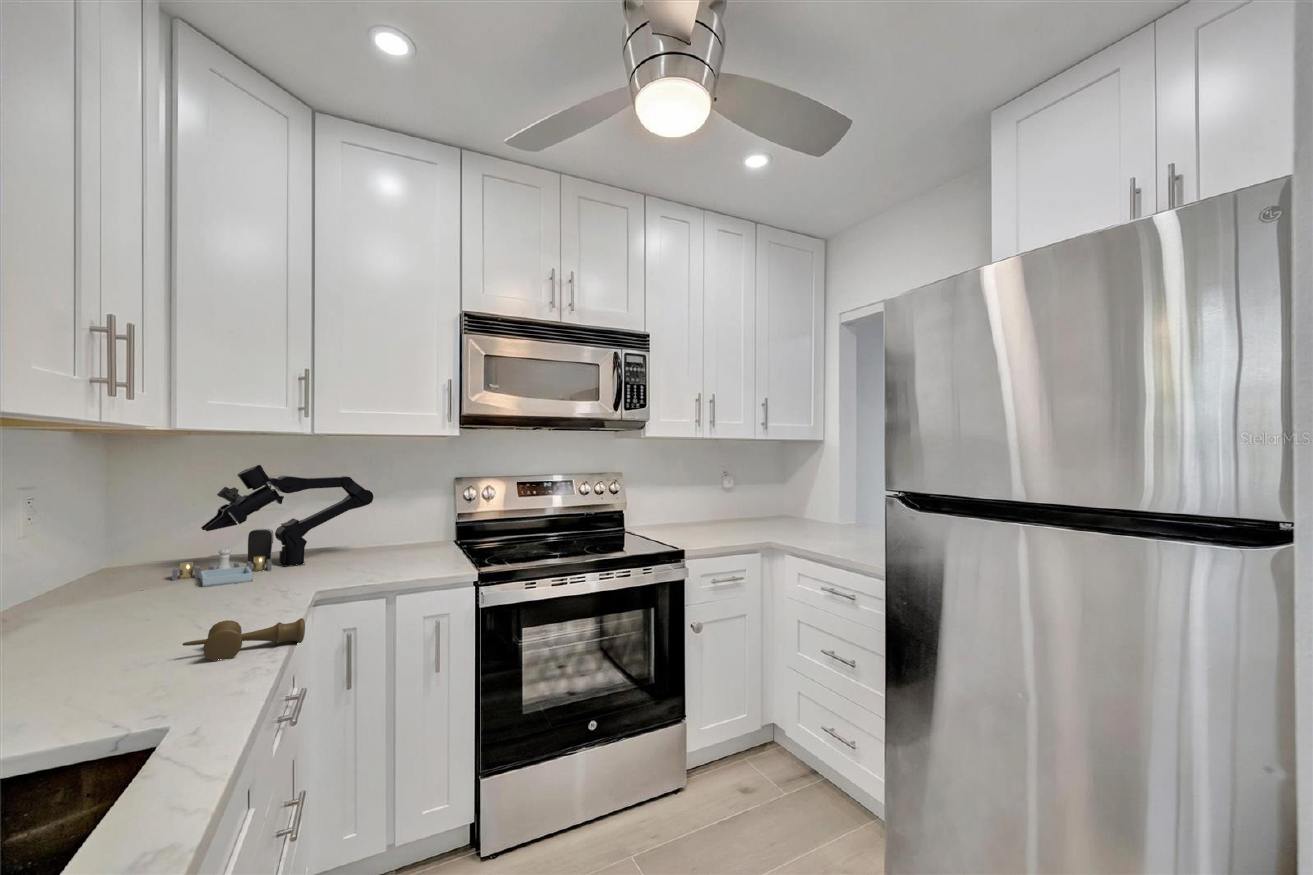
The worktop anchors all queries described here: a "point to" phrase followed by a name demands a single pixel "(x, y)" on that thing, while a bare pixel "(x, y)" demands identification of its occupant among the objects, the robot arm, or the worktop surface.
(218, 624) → the kendama
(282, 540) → the robot arm
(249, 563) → the grey small pieces
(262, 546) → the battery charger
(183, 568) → the brass peg
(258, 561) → the brass peg
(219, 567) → the rook chess piece
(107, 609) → the worktop surface
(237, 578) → the tray
